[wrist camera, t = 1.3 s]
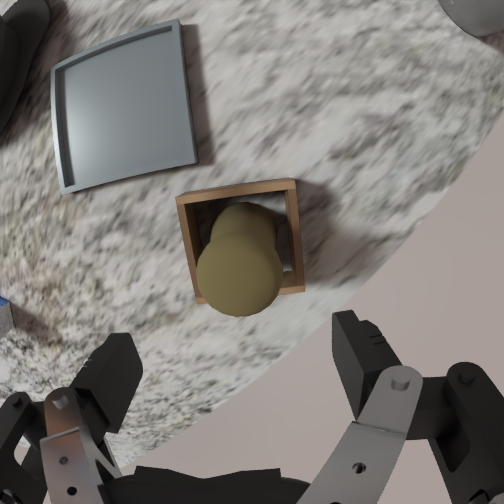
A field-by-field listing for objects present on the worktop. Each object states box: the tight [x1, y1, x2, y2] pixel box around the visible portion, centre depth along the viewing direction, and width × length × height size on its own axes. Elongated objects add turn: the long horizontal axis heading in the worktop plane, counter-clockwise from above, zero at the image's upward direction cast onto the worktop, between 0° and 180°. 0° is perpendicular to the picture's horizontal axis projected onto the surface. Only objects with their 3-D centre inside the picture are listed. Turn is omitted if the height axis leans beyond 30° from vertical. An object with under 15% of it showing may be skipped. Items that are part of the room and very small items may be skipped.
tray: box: [51, 19, 199, 195], centre depth 22 cm, size 14×14×2 cm
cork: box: [196, 202, 283, 317], centre depth 21 cm, size 6×6×11 cm
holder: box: [175, 178, 305, 304], centre depth 25 cm, size 9×9×4 cm
